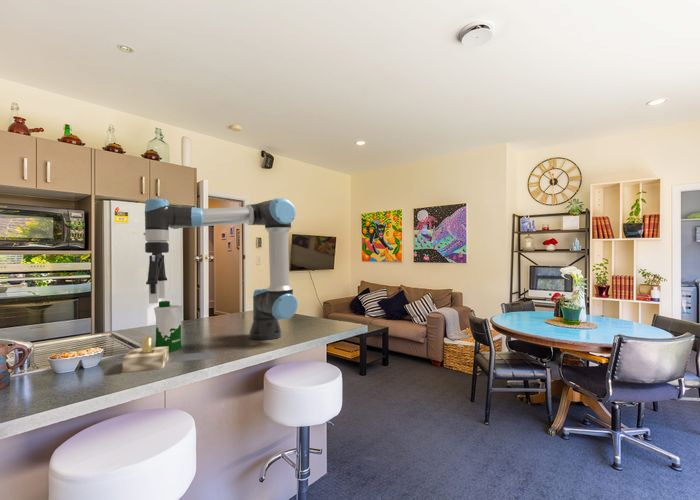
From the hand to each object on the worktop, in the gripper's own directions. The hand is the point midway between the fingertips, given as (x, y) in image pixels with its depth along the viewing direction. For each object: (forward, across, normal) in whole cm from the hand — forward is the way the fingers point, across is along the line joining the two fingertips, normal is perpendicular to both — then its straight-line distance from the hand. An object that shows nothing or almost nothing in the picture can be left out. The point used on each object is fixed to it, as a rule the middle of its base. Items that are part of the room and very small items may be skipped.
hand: (157, 300), depth 128 cm
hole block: (+23, +2, -3) cm, 23 cm away
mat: (+23, -4, +11) cm, 26 cm away
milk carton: (+23, -18, +1) cm, 29 cm away
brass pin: (+23, +2, -3) cm, 23 cm away
